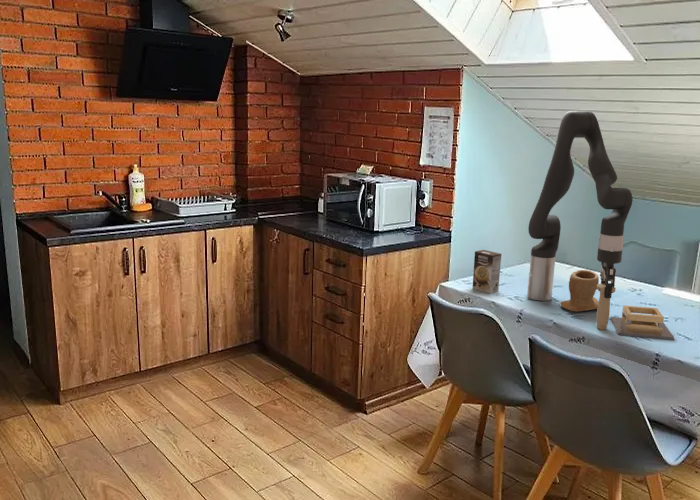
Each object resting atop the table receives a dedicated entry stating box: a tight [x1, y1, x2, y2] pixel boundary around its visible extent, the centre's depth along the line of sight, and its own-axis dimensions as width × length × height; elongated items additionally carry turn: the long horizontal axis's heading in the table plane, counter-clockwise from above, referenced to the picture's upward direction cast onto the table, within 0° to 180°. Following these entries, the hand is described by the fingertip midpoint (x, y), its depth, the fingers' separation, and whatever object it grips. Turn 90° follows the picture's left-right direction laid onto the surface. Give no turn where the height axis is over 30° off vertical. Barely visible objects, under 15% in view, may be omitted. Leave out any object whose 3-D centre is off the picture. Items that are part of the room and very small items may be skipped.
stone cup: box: [559, 269, 600, 312], centre depth 228 cm, size 15×12×15 cm
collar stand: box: [609, 305, 675, 341], centre depth 209 cm, size 17×16×6 cm
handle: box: [596, 283, 616, 331], centre depth 208 cm, size 5×6×15 cm
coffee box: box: [472, 249, 502, 295], centre depth 251 cm, size 9×6×16 cm
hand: (605, 294), depth 207 cm, fingers open, 8 cm apart
